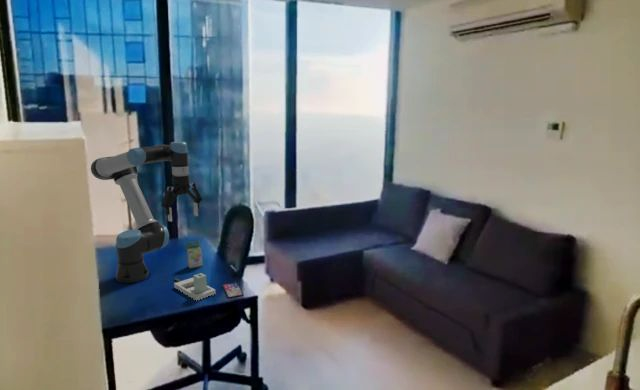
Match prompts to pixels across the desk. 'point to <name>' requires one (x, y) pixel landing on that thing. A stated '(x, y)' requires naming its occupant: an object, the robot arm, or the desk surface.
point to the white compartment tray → (192, 289)
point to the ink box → (194, 255)
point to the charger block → (200, 283)
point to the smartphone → (232, 290)
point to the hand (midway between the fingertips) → (183, 218)
